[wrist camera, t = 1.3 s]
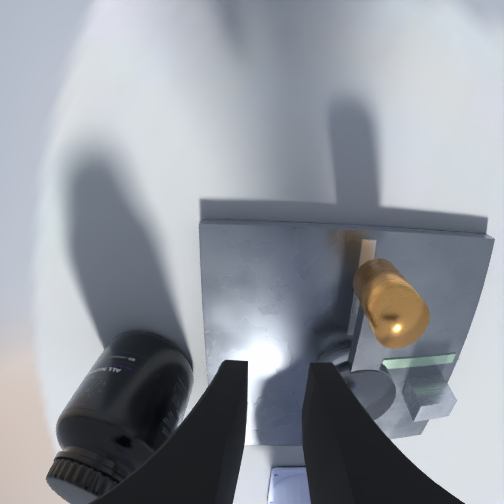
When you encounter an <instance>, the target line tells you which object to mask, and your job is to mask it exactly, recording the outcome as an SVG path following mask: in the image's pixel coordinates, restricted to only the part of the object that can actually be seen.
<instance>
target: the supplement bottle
mask: <svg viewBox="0 0 504 504" xmlns="http://www.w3.org/2000/svg"><path fill="white" fill-rule="evenodd" d="M193 381H194V379H193V372H192V369H191V366H190V364H189V362H188V360H187V359H186V357H185V356H184V355H183V354H182V353H181V351H180V350H179V349H178V348H176V347H175V346H174V345H173V344H171V343H170V342H168V341H167V340H165V339H163V338H161V337H159V336H156V335H154V334H150V333H146V332H127V333H123V334H121V335H119V336H117V337H115V338H114V339H113V340H112V341H111V342H110V343H109V345H108V346H107V347H106V349H105V350H104V351H103V353H102V354H101V355H100V357H99V358H98V360H97V361H96V363H95V364H94V366H93V367H92V368H91V370H90V371H89V373H88V374H87V376H86V377H85V379H84V380H83V382H82V383H81V384H80V386H79V387H78V389H77V390H76V392H75V393H74V395H73V396H72V398H71V399H70V401H69V402H68V404H67V405H66V407H65V409H64V410H63V412H62V413H61V415H60V417H59V419H58V421H57V424H56V435H57V439H58V442H59V445H60V447H61V449H62V450H63V451H60V452H58V453H57V455H56V457H55V459H54V463H53V465H52V467H51V468H50V470H49V472H48V474H47V477H46V480H47V483H48V484H49V486H50V487H51V488H52V490H54V491H55V492H56V493H57V494H58V495H59V496H61V497H62V498H63V499H64V500H66V501H67V502H69V503H70V504H89V503H90V502H92V501H93V500H95V499H97V498H98V497H100V496H101V495H103V494H104V493H106V492H108V491H109V490H110V489H112V488H113V487H114V486H116V485H117V484H119V483H120V482H121V481H122V480H124V479H125V478H126V477H127V476H129V475H130V474H131V473H132V472H133V471H135V470H136V469H137V468H138V467H139V466H141V465H142V464H143V463H144V462H145V461H146V460H147V459H148V458H149V457H150V456H151V455H152V454H154V453H155V452H156V451H157V450H158V449H159V448H160V447H161V445H162V444H163V443H164V442H165V441H166V440H167V439H168V438H169V437H170V436H171V435H172V433H173V432H174V431H175V430H176V429H177V428H178V426H179V425H180V424H181V423H182V421H183V417H184V414H185V411H186V408H187V404H188V401H189V398H190V394H191V391H192V387H193Z"/></svg>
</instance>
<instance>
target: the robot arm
mask: <svg viewBox="0 0 504 504" xmlns="http://www.w3.org/2000/svg"><path fill="white" fill-rule="evenodd" d="M247 410H248V361H241V360H224V361H223V362H222V363H221V365H220V367H219V369H218V371H217V373H216V374H215V376H214V378H213V380H212V381H211V383H210V384H209V386H208V388H207V389H206V391H205V392H204V394H203V395H202V396H201V398H200V399H199V401H198V402H197V403H196V405H195V406H194V408H193V409H192V410H191V412H190V413H189V414H188V416H187V417H186V418H185V419H184V420H183V422H182V423H181V424H180V425H179V426H178V428H177V429H176V430H175V431H174V432H173V433H172V435H171V436H170V437H169V438H168V439H167V440H166V441H165V442H164V443H163V444H162V445H161V447H160V448H159V449H158V450H157V451H156V452H155V453H154V454H152V455H151V456H150V457H149V458H148V459H147V460H146V461H145V462H144V463H143V464H142V465H141V466H139V467H138V468H137V469H136V470H135V471H133V472H132V473H131V474H130V475H129V476H127V477H126V478H125V479H124V480H122V481H121V482H120V483H119V484H117V485H116V486H114V487H113V488H112V489H110V490H109V491H108V492H106V493H104V494H103V495H101V496H100V497H98V498H97V499H95V500H93V501H92V502H90V503H89V504H233V499H234V494H235V489H236V484H237V480H238V475H239V470H240V465H241V460H242V455H243V450H244V444H245V436H246V424H247ZM302 444H303V451H304V458H305V465H306V467H295V468H280V467H277V468H273V469H272V472H271V479H270V486H269V493H268V500H267V504H465V503H463V502H462V501H460V500H459V499H458V498H456V497H455V496H453V495H452V494H450V493H449V492H448V491H446V490H445V489H443V488H442V487H441V486H439V485H438V484H437V483H435V482H434V481H433V480H432V479H430V478H429V477H428V476H427V475H426V474H424V473H423V472H422V471H421V470H420V469H419V468H418V467H417V466H415V465H414V464H413V463H412V462H411V461H410V460H409V459H408V458H407V457H406V456H405V455H404V454H403V453H402V452H401V451H400V450H399V449H398V448H397V447H396V446H395V445H394V444H393V442H392V441H391V440H390V439H389V438H388V437H387V436H386V435H385V433H384V432H383V431H382V430H381V429H380V428H379V426H378V425H377V424H376V423H375V421H374V420H373V419H372V418H371V416H370V415H369V414H368V412H367V411H366V410H365V408H364V407H363V406H362V405H361V403H360V402H359V400H358V399H357V398H356V396H355V395H354V393H353V392H352V391H351V389H350V388H349V386H348V385H347V383H346V382H345V380H344V379H343V377H342V376H341V374H340V372H339V371H338V369H337V368H336V366H335V365H334V364H333V363H332V362H326V363H310V366H309V372H308V378H307V384H306V390H305V396H304V402H303V407H302Z"/></svg>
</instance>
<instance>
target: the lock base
mask: <svg viewBox="0 0 504 504" xmlns="http://www.w3.org/2000/svg"><path fill="white" fill-rule="evenodd" d="M199 239H200V265H201V286H202V304H203V320H204V335H205V349H206V362H207V374H208V385H209V384H210V383H211V381H212V380H213V378H214V376H215V374H216V373H217V371H218V369H219V367H220V365H221V363H222V362H223V361H224V360H241V361H248V410H247V424H246V436H245V444H250V445H279V446H303V444H302V407H303V402H304V396H305V390H306V384H307V378H308V372H309V366H310V363H326V362H332V363H333V364H334V365H337V364H339V363H342V362H344V361H347V360H348V356H349V352H350V347H351V343H352V338H353V333H354V328H355V323H356V318H357V313H358V308H359V300H358V298H357V296H356V294H355V292H354V289H353V278H354V275H355V273H356V271H357V270H358V268H359V267H360V266H361V265H362V264H364V263H365V262H367V261H369V260H371V259H376V258H382V259H386V260H388V261H390V262H391V263H392V264H393V265H394V266H395V267H396V268H397V270H398V271H399V272H400V273H401V274H402V275H403V277H404V278H405V279H406V280H407V281H408V282H409V284H410V285H411V286H412V287H413V288H414V290H415V291H416V292H417V293H418V295H419V296H420V297H421V298H422V299H423V301H424V302H425V303H426V304H427V306H428V308H429V312H430V319H429V323H428V326H427V328H426V330H425V332H424V333H423V334H422V336H421V337H420V338H419V339H418V340H416V341H415V342H414V343H412V344H410V345H408V346H406V347H403V348H398V349H392V348H387V347H386V349H385V353H384V356H383V360H382V364H383V365H385V366H386V367H387V369H388V370H389V372H390V375H391V377H392V380H393V382H394V384H395V387H396V397H395V400H394V402H393V404H392V405H391V407H390V408H389V409H388V410H387V411H386V412H385V413H384V414H383V415H382V416H381V417H379V418H378V419H376V420H374V421H375V423H376V424H377V425H378V426H379V428H380V429H381V430H382V431H383V432H384V433H385V435H386V436H387V437H388V438H389V439H395V438H402V437H408V436H414V435H420V434H421V433H422V431H423V430H424V428H425V426H426V424H427V422H428V421H429V419H434V418H440V417H445V416H449V414H450V412H451V410H452V409H453V407H454V405H455V403H456V401H457V400H456V398H455V396H454V394H453V392H452V391H451V389H450V387H449V385H448V384H447V383H448V380H449V378H450V376H451V374H452V371H453V369H454V367H455V365H456V362H457V360H458V357H459V355H460V352H461V350H462V347H463V345H464V342H465V340H466V337H467V334H468V332H469V329H470V326H471V323H472V320H473V317H474V314H475V311H476V308H477V305H478V302H479V299H480V295H481V292H482V289H483V285H484V282H485V278H486V274H487V270H488V266H489V262H490V258H491V254H492V250H493V245H494V240H495V239H494V238H492V237H490V236H489V235H487V234H478V233H466V232H454V231H441V230H428V229H414V228H399V227H383V226H366V225H348V224H328V223H306V222H281V221H252V220H215V219H203V220H202V221H201V222H200V223H199Z"/></svg>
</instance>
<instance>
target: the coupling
mask: <svg viewBox="0 0 504 504" xmlns="http://www.w3.org/2000/svg"><path fill="white" fill-rule="evenodd" d="M353 289H354V292H355V294H356V296H357V298H358V300H359V308H358V313H357V318H356V323H355V328H354V333H353V338H352V343H351V347H350V352H349V356H348V360H347V361H344V362H342V363H339V364H337V365H335V366H336V368H337V369H338V371H339V372H340V374H341V376H342V377H343V379H344V380H345V382H346V383H347V385H348V386H349V388H350V389H351V391H352V392H353V393H354V395H355V396H356V398H357V399H358V400H359V402H360V403H361V405H362V406H363V407H364V408H365V410H366V411H367V412H368V414H369V415H370V416H371V418H372V419H373V420H376V419H378V418H379V417H381V416H382V415H383V414H384V413H385V412H386V411H387V410H388V409H389V408H390V407H391V405H392V404H393V402H394V400H395V397H396V387H395V384H394V382H393V380H392V377H391V375H390V372H389V370H388V369H387V367H386V366H385V365H383V364H382V360H383V356H384V353H385V349H386V347H387V348H392V349H398V348H403V347H406V346H408V345H410V344H412V343H414V342H415V341H416V340H418V339H419V338H420V337H421V336H422V334H423V333H424V332H425V330H426V328H427V326H428V323H429V319H430V312H429V308H428V306H427V304H426V303H425V302H424V301H423V299H422V298H421V297H420V296H419V295H418V293H417V292H416V291H415V290H414V288H413V287H412V286H411V285H410V284H409V282H408V281H407V280H406V279H405V278H404V277H403V275H402V274H401V273H400V272H399V271H398V270H397V268H396V267H395V266H394V265H393V264H392V263H391V262H390V261H388V260H386V259H382V258H376V259H371V260H369V261H367V262H365V263H364V264H362V265H361V266H360V267H359V268H358V270H357V271H356V273H355V275H354V278H353Z"/></svg>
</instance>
